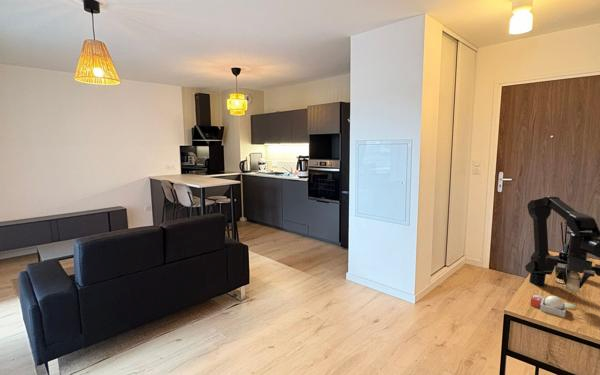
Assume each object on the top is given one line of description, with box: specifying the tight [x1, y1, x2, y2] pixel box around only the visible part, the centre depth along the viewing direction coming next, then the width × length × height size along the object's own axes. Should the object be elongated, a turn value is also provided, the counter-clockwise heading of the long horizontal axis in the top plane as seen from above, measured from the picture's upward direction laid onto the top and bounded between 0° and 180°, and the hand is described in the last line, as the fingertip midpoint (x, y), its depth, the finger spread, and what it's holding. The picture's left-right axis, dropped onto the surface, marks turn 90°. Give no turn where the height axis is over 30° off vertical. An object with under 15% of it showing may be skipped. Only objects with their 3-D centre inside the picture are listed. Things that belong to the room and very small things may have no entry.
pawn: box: [565, 271, 581, 293], centre depth 125 cm, size 4×4×8 cm
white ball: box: [544, 295, 564, 310], centre depth 123 cm, size 6×6×6 cm
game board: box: [533, 294, 578, 318], centre depth 127 cm, size 18×14×4 cm
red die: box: [529, 295, 542, 309], centre depth 127 cm, size 3×3×3 cm
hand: (572, 286), depth 125 cm, fingers closed on pawn, 4 cm apart
